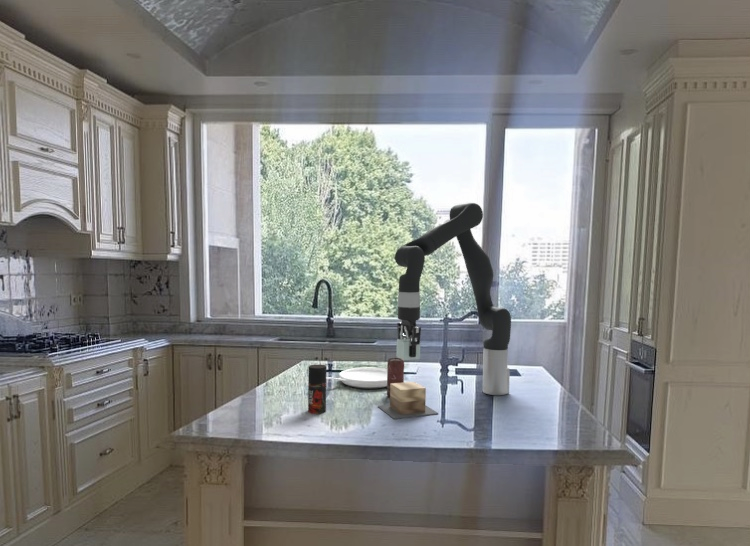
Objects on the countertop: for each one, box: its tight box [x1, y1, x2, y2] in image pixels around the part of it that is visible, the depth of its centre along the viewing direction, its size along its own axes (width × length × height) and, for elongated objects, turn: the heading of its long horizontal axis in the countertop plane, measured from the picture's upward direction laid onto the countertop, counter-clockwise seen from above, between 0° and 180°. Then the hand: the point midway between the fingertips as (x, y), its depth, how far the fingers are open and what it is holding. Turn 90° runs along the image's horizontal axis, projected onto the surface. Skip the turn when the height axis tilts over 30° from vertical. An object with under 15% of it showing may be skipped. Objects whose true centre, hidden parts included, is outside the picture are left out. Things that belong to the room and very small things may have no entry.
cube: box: [395, 338, 421, 361], centre depth 161 cm, size 6×6×6 cm
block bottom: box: [389, 395, 427, 415], centre depth 161 cm, size 9×9×4 cm
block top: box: [390, 381, 427, 402], centre depth 161 cm, size 9×9×4 cm
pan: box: [326, 366, 387, 390], centre depth 195 cm, size 25×38×5 cm, turn 124°
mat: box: [377, 404, 439, 420], centre depth 161 cm, size 16×14×1 cm
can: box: [386, 357, 405, 399], centre depth 178 cm, size 6×6×14 cm
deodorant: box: [307, 364, 327, 415], centre depth 159 cm, size 6×6×15 cm
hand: (408, 355), depth 161 cm, fingers closed on cube, 6 cm apart
